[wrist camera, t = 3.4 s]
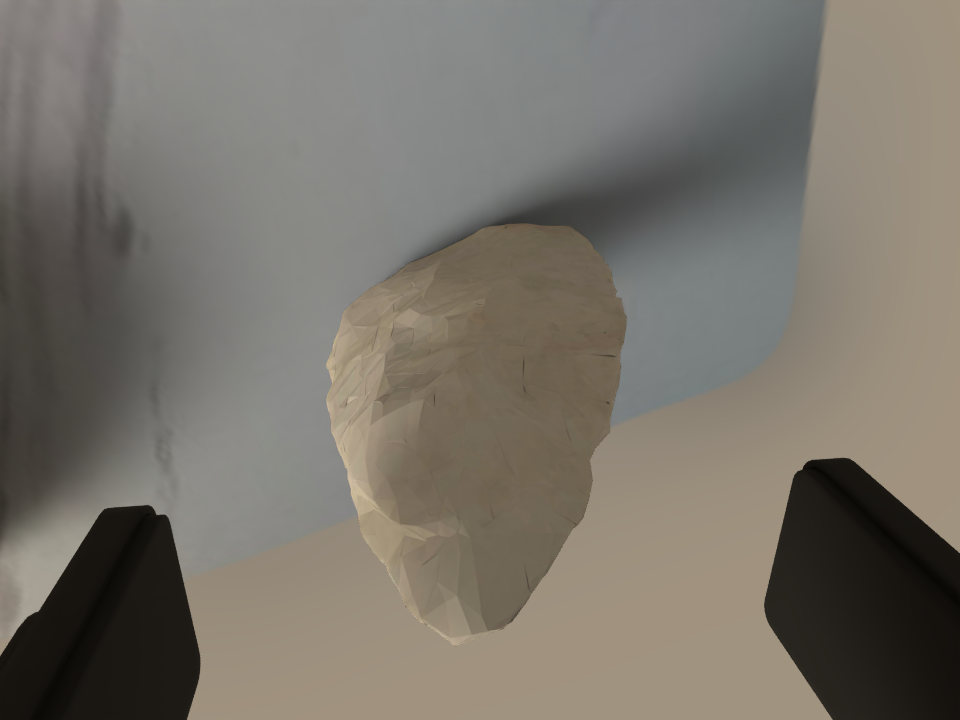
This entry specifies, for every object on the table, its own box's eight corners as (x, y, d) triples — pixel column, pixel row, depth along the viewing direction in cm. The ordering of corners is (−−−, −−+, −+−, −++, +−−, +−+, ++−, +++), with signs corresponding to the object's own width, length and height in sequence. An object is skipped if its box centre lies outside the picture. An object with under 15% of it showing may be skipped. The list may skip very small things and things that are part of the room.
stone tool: (360, 362, 23) (308, 792, 10) (315, 287, 22) (185, 664, 9) (585, 256, 23) (861, 565, 9) (552, 173, 21) (817, 388, 8)
